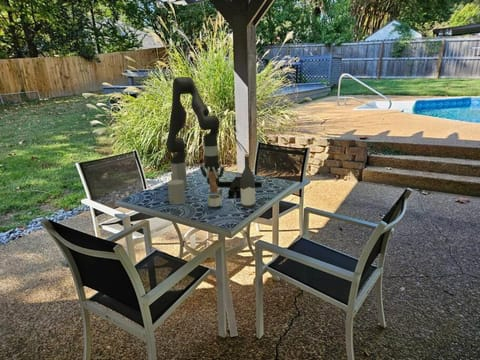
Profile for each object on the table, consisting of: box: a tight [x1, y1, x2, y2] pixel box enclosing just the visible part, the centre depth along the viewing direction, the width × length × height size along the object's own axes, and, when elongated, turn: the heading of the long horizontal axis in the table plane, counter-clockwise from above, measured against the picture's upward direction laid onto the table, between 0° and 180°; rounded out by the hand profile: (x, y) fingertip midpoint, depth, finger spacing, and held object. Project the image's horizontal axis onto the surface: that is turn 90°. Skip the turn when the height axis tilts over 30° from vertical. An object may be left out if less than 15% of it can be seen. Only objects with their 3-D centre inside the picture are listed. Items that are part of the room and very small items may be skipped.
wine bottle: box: [240, 153, 256, 209], centre depth 175 cm, size 8×8×30 cm
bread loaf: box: [209, 171, 218, 194], centre depth 173 cm, size 4×4×12 cm
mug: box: [206, 187, 223, 208], centre depth 180 cm, size 8×13×8 cm, turn 167°
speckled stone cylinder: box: [166, 179, 187, 206], centre depth 187 cm, size 10×10×12 cm
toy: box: [217, 176, 263, 199], centre depth 204 cm, size 30×5×30 cm
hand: (213, 184), depth 174 cm, fingers closed on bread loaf, 4 cm apart
